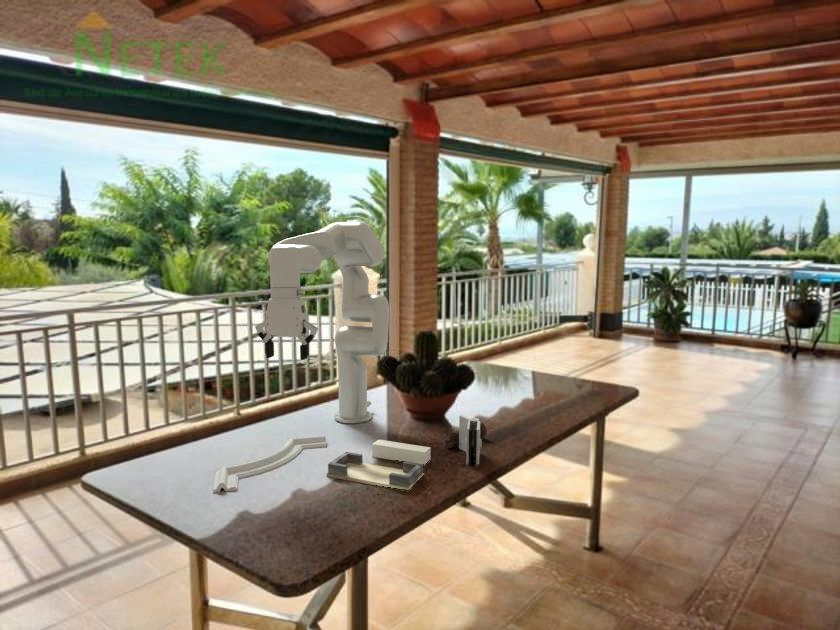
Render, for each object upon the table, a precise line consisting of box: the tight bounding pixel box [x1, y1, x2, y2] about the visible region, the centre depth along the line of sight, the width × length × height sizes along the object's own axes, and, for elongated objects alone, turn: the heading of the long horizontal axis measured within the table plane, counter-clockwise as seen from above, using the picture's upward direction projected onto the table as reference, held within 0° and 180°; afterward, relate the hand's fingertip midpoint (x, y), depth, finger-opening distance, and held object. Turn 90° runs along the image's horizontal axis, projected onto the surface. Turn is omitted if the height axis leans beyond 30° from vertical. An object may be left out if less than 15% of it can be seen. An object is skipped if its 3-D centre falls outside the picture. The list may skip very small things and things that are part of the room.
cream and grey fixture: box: [326, 451, 425, 491], centre depth 153 cm, size 10×23×3 cm, turn 68°
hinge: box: [458, 414, 483, 466], centre depth 167 cm, size 14×5×10 cm, turn 5°
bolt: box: [444, 421, 488, 449], centre depth 178 cm, size 6×5×15 cm
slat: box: [371, 439, 432, 466], centre depth 165 cm, size 4×16×4 cm, turn 67°
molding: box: [212, 435, 328, 494], centre depth 162 cm, size 42×12×3 cm, turn 151°
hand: (287, 358), depth 157 cm, fingers open, 9 cm apart
